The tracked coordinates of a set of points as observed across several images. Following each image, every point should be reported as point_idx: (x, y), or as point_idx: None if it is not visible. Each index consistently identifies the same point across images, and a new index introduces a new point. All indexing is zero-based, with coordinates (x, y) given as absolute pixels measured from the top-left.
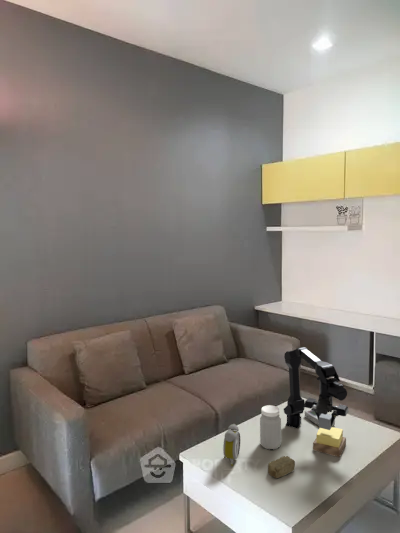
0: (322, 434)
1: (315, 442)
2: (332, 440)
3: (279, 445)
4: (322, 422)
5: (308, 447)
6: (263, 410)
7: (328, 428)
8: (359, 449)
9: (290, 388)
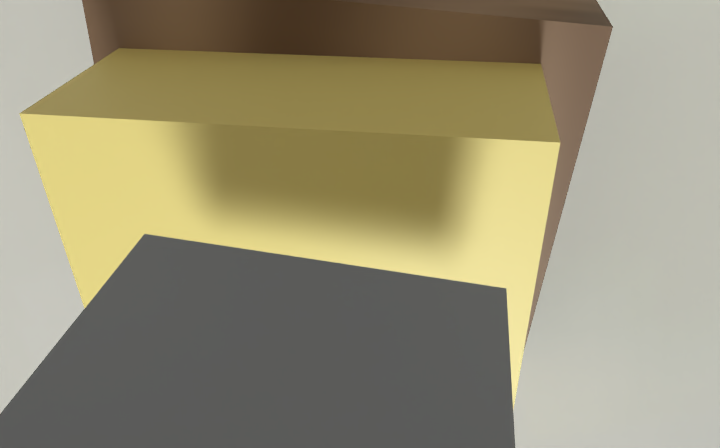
0: (410, 188)
1: (561, 59)
2: (183, 94)
3: None
4: (344, 442)
5: (675, 32)
6: None
7: (168, 269)
8: (27, 240)
9: None
